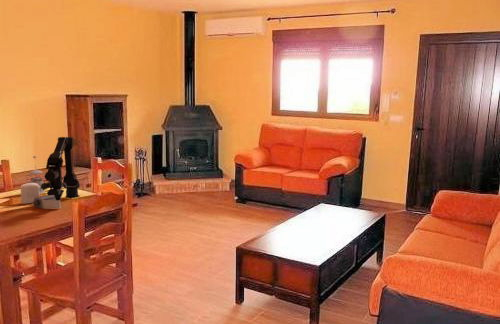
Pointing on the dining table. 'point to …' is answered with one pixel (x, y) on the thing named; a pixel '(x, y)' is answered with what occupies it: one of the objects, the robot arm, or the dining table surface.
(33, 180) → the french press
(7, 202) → the dining table surface
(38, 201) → the camera body
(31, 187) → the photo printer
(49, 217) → the dining table surface
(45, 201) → the side door
